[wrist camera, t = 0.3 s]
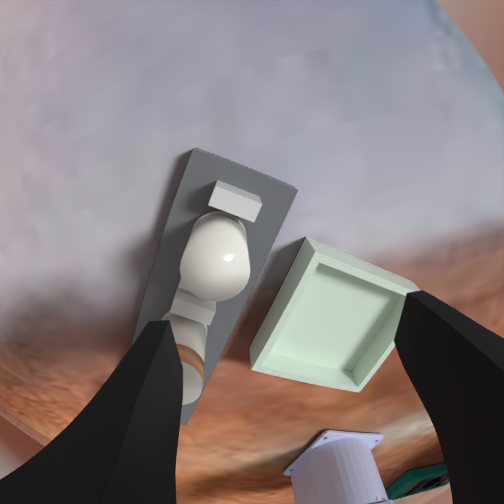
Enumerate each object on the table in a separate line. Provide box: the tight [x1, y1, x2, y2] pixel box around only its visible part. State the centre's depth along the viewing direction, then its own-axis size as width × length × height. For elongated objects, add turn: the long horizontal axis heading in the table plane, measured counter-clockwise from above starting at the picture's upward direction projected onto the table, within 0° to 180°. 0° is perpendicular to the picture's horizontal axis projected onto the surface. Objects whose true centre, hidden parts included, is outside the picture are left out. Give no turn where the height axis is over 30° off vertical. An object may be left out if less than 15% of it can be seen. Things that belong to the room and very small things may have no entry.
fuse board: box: [132, 148, 298, 425], centre depth 19 cm, size 21×6×3 cm, turn 157°
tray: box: [249, 237, 421, 392], centre depth 20 cm, size 9×9×2 cm
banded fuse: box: [162, 309, 208, 405], centre depth 17 cm, size 3×3×6 cm
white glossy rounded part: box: [180, 210, 250, 302], centre depth 16 cm, size 3×3×4 cm
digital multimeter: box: [385, 462, 450, 500], centre depth 35 cm, size 7×15×3 cm, turn 75°
